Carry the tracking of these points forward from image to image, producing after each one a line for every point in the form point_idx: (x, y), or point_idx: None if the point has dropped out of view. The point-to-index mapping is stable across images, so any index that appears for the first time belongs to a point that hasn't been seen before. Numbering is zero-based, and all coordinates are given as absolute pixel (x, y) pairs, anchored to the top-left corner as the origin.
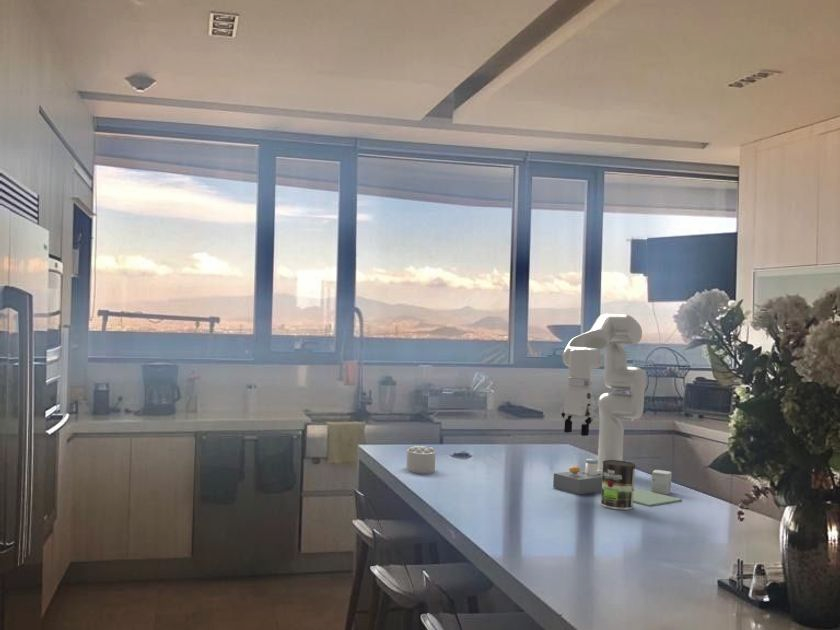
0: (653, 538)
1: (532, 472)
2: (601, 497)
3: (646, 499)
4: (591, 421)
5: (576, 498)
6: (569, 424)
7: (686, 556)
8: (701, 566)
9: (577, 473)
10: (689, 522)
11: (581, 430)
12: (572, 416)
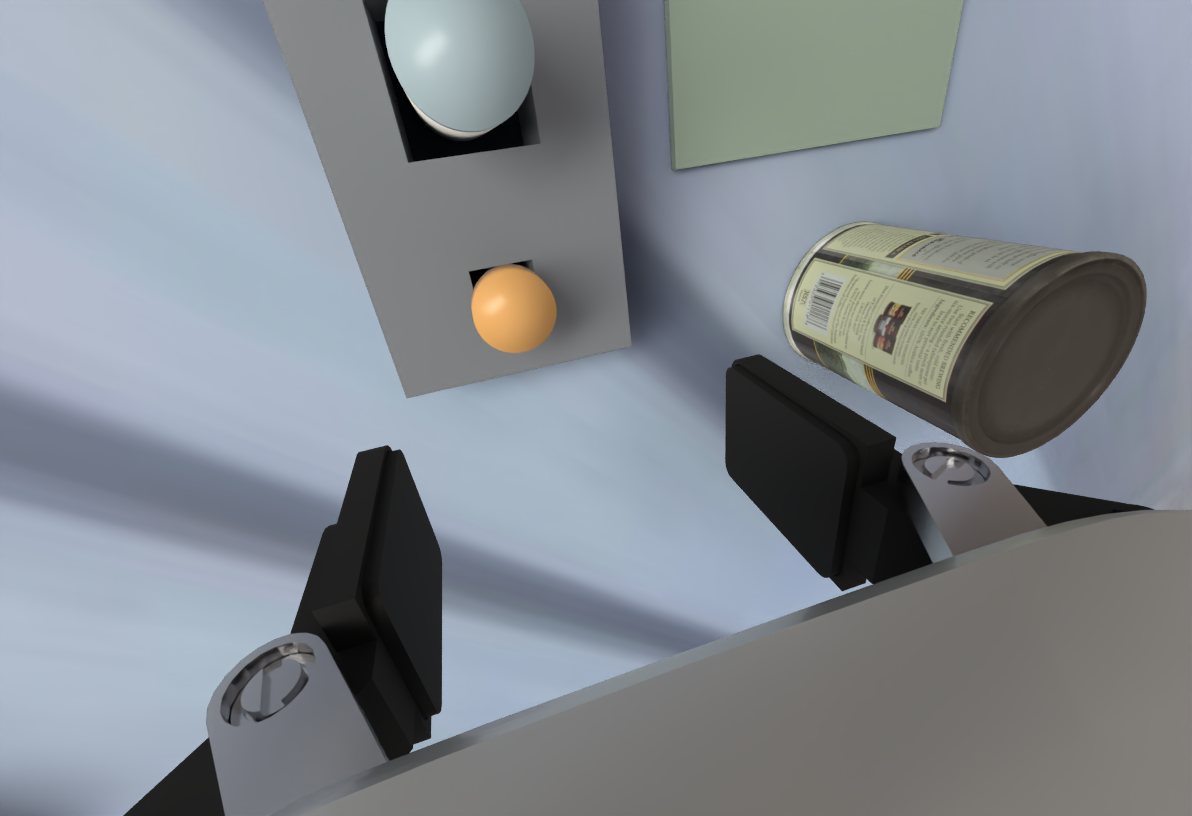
0: (1068, 444)
1: None
2: (821, 364)
3: (882, 21)
4: (1051, 496)
5: (668, 384)
6: (412, 600)
7: (1148, 460)
8: (1176, 472)
9: (431, 209)
10: (1121, 186)
11: (773, 515)
12: (375, 741)
